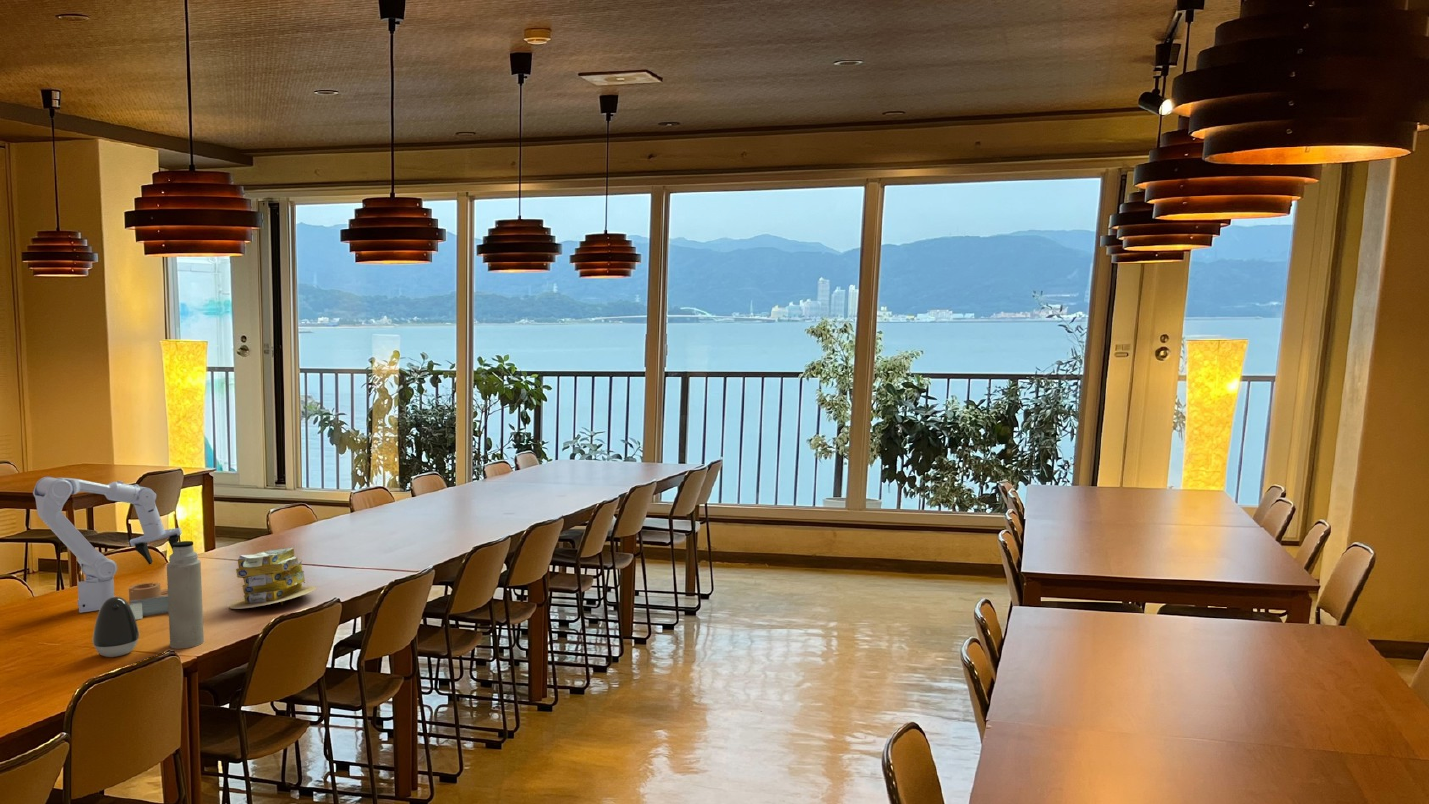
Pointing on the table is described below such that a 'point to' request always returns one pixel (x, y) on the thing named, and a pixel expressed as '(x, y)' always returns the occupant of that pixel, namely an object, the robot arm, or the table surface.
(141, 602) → the bar
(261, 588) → the stacked boxes on plate
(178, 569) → the thermos bottle
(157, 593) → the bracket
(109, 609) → the grey white egg device
